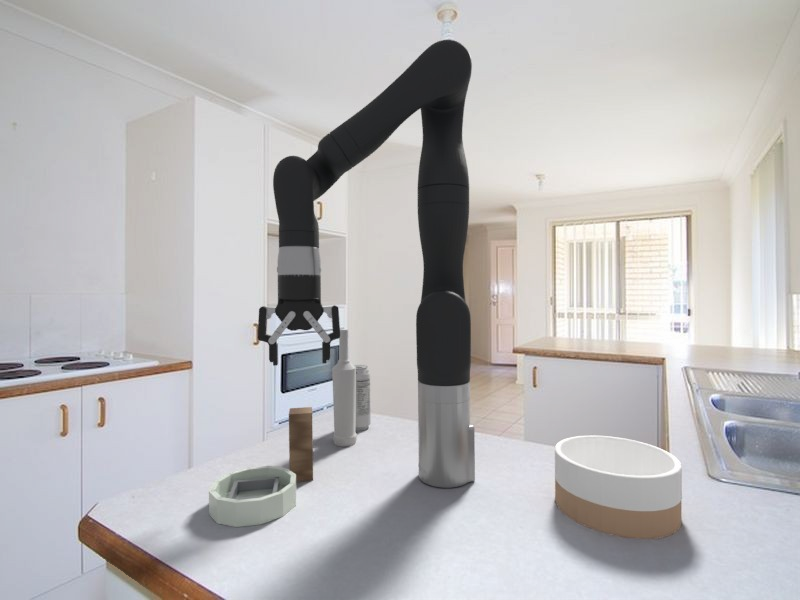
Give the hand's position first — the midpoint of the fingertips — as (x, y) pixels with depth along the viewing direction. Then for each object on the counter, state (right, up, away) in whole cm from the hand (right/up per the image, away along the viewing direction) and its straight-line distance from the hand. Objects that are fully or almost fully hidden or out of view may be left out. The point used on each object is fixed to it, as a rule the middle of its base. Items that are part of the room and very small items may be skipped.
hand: (300, 363), depth 78 cm
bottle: (+6, -20, +18) cm, 28 cm away
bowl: (+51, -20, -12) cm, 56 cm away
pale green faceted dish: (-5, -21, -10) cm, 23 cm away
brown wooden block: (0, -20, 0) cm, 20 cm away
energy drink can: (+8, -20, +28) cm, 36 cm away
